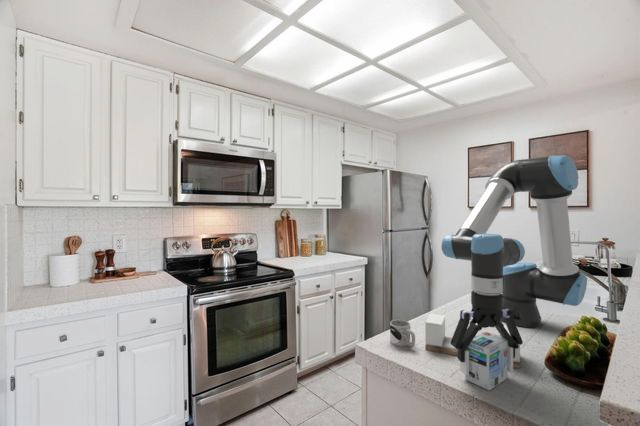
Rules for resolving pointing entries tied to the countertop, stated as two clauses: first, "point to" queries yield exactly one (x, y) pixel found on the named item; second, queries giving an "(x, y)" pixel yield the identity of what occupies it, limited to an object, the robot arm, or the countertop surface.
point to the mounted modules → (437, 332)
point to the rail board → (454, 349)
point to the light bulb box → (488, 360)
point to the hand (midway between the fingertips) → (486, 371)
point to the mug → (401, 333)
